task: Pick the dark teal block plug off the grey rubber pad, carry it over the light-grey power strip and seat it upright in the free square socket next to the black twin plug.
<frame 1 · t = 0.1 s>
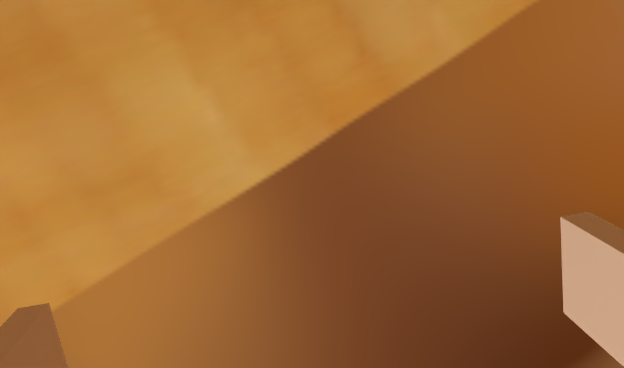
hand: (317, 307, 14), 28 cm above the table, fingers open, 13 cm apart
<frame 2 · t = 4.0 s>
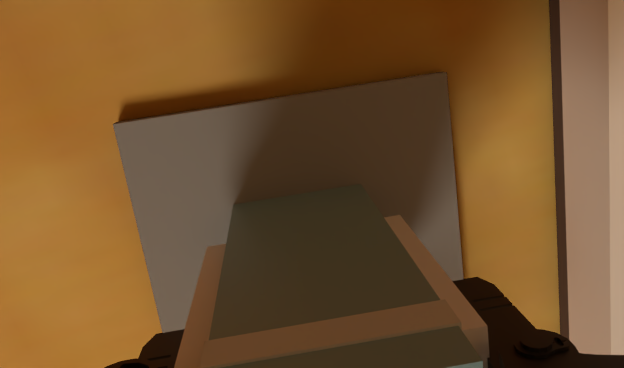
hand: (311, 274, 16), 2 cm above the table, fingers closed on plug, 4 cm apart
pad: (305, 248, 18), on the table
plug: (306, 253, 18), point 1 cm above the table, touching gripper, pad
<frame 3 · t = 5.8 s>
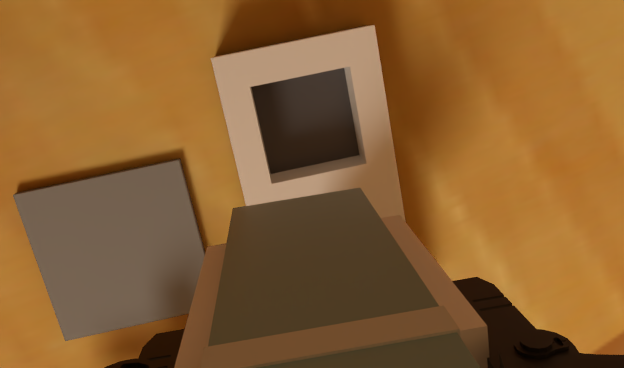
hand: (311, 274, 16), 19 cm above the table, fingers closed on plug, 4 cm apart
power strip: (320, 192, 35), on the table
pad: (122, 250, 35), on the table
plug: (306, 257, 18), point 17 cm above the table, touching gripper
when the fingers open (4 cm above the table, at t = 8.0 s): plug drops 2 cm, resting on power strip.
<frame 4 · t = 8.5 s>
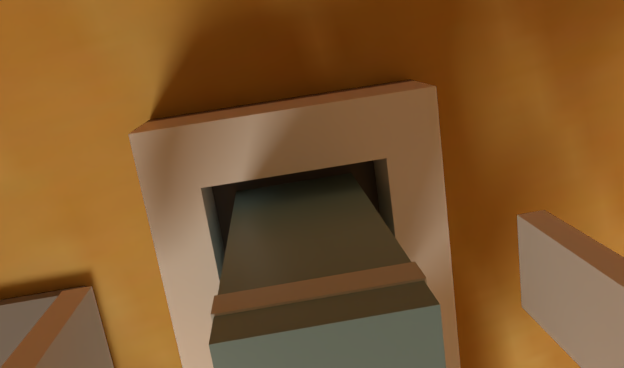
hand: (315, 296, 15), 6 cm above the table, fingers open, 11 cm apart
power strip: (320, 345, 21), on the table
plug: (302, 236, 20), point 1 cm above the table, touching power strip
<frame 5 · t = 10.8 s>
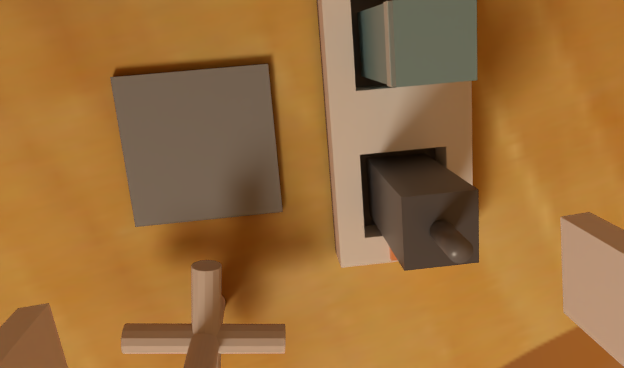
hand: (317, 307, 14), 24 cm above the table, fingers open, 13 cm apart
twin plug: (394, 181, 39), resting on power strip
power strip: (391, 113, 38), on the table
pad: (200, 146, 37), on the table
pipe connector: (213, 301, 40), on the table
plug: (389, 42, 36), point 1 cm above the table, touching power strip
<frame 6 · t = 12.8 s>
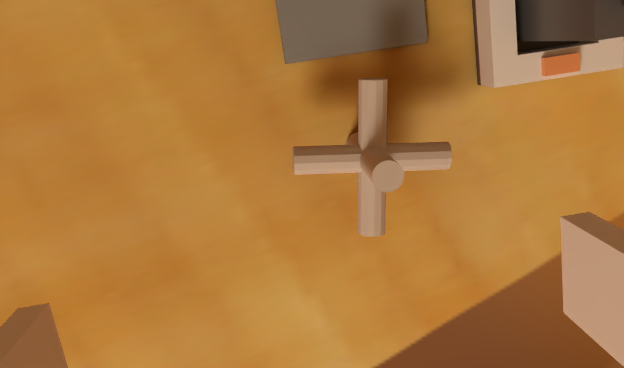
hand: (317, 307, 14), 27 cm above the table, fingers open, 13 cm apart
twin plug: (535, 7, 39), resting on power strip
pipe connector: (357, 143, 41), on the table
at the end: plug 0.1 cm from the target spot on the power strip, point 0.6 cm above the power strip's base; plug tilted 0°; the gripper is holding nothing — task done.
